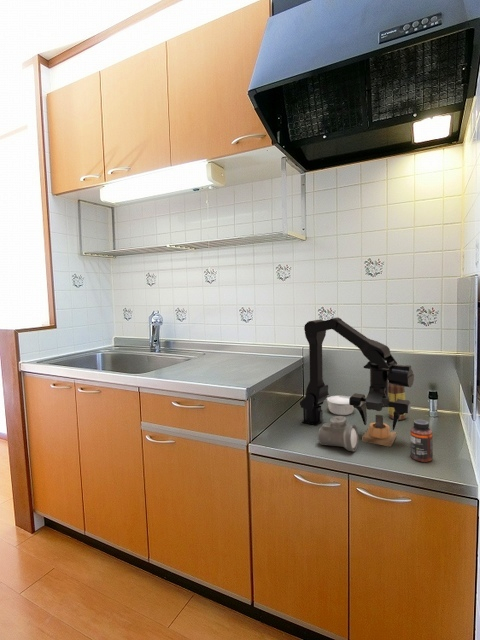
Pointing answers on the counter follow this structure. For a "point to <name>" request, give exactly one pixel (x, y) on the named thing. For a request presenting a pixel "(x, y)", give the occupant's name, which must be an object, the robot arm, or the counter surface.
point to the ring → (379, 431)
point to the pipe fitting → (339, 434)
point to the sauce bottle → (395, 398)
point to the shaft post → (381, 441)
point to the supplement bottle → (421, 441)
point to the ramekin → (340, 405)
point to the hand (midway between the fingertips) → (379, 427)
